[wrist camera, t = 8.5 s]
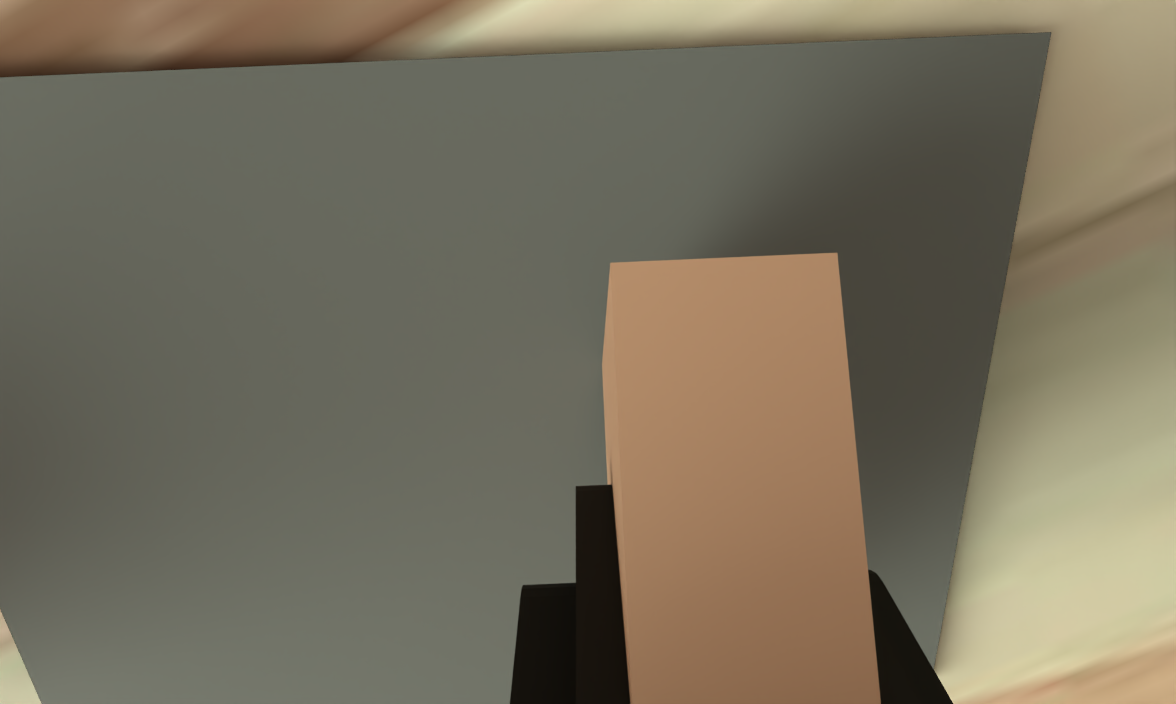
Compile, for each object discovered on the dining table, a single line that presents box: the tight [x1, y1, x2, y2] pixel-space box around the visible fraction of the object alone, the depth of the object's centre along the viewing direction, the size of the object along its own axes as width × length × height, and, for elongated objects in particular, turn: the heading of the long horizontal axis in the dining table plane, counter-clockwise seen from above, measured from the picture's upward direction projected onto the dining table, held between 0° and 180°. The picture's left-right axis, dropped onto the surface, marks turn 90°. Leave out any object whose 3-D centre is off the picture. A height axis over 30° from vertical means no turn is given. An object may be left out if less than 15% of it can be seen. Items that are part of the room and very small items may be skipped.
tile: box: [602, 253, 881, 704], centre depth 9 cm, size 2×8×7 cm
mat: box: [0, 32, 1051, 704], centre depth 14 cm, size 20×14×1 cm
